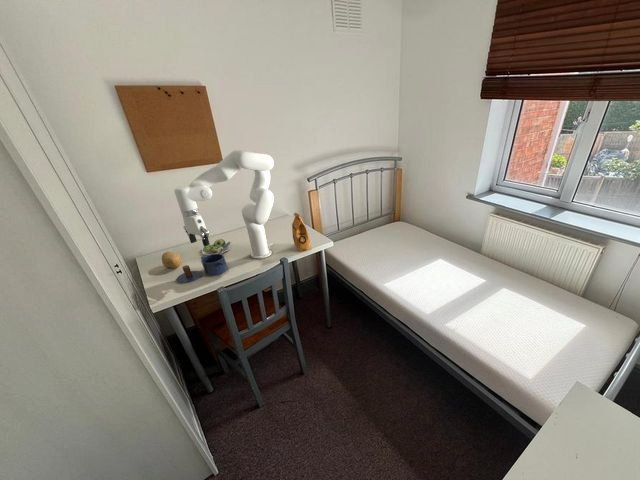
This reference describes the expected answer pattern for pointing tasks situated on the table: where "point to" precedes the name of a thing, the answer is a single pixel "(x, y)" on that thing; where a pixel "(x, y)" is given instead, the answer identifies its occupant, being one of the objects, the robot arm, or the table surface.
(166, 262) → the potato
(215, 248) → the salad plate
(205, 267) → the pot
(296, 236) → the coffee package
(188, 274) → the lid
